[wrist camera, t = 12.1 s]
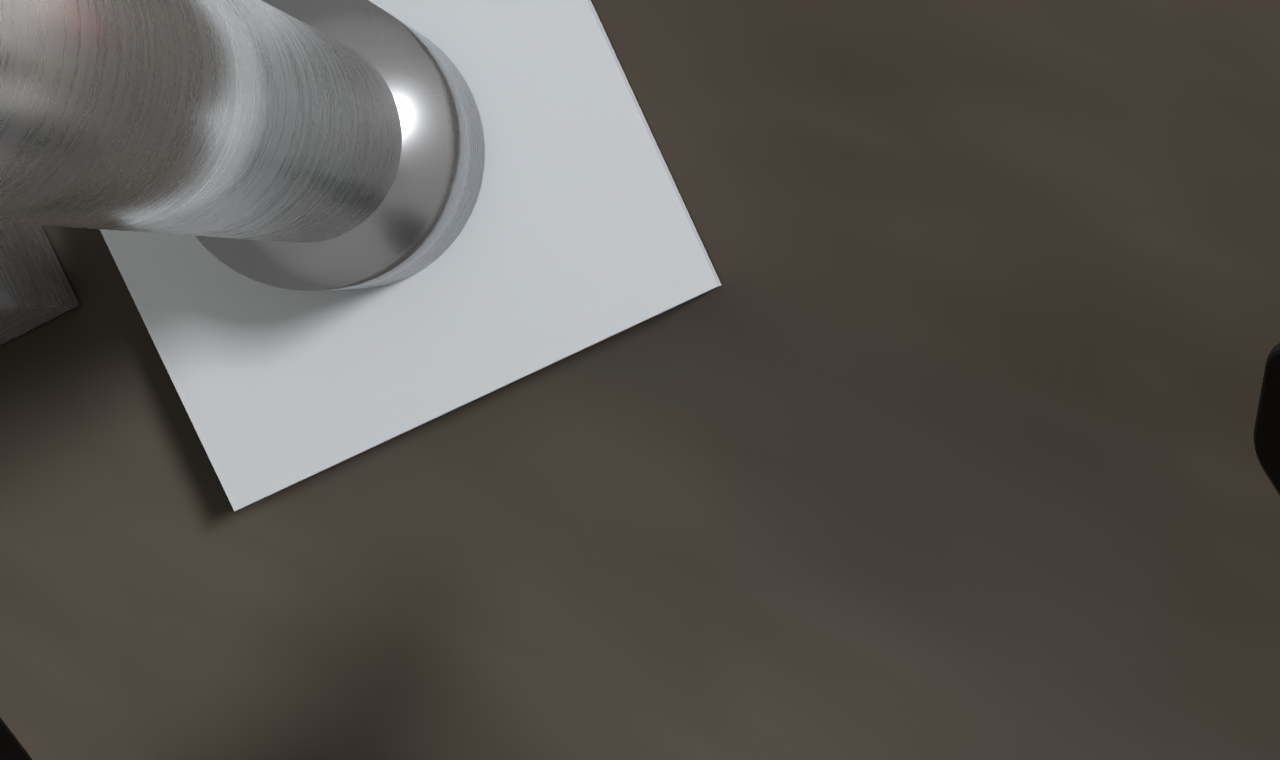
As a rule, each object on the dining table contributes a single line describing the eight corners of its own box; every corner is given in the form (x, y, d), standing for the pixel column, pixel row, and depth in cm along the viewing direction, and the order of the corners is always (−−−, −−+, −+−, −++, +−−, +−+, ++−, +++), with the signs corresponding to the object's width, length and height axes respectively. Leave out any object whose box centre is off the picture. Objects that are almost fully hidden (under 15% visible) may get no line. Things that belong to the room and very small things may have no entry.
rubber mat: (721, 285, 20) (718, 285, 19) (260, 500, 21) (234, 511, 20) (491, -215, 19) (475, -241, 18) (38, 35, 21) (1, 23, 20)
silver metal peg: (505, 266, 19) (-92, 247, 6) (249, 308, 20) (-784, 369, 7) (460, -10, 19) (-269, -637, 6) (202, 41, 19) (-971, -427, 6)
